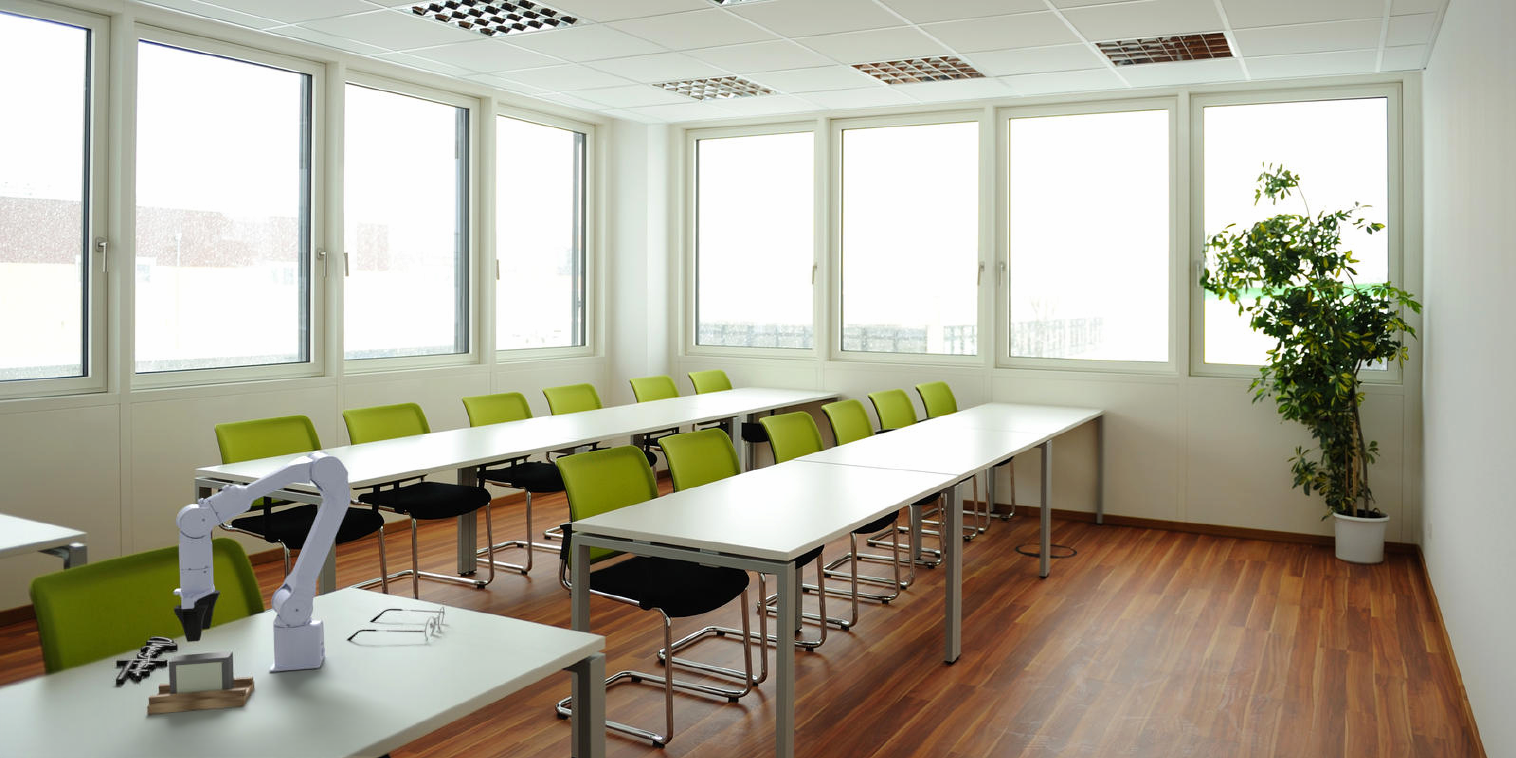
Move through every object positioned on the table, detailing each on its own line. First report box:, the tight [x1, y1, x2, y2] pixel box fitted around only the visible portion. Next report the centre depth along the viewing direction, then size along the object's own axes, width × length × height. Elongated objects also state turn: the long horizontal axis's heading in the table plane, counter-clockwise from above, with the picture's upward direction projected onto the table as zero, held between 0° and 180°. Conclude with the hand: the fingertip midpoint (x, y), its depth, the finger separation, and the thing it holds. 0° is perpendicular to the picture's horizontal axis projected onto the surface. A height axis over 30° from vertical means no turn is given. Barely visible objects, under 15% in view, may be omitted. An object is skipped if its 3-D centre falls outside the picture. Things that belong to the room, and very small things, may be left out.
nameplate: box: [115, 636, 179, 686], centre depth 215 cm, size 27×2×10 cm
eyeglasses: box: [346, 606, 446, 641], centre depth 236 cm, size 16×19×5 cm
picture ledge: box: [146, 676, 255, 715], centre depth 194 cm, size 16×9×3 cm, turn 105°
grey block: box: [168, 650, 235, 694], centre depth 193 cm, size 10×4×7 cm, turn 105°
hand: (198, 634), depth 203 cm, fingers open, 7 cm apart
